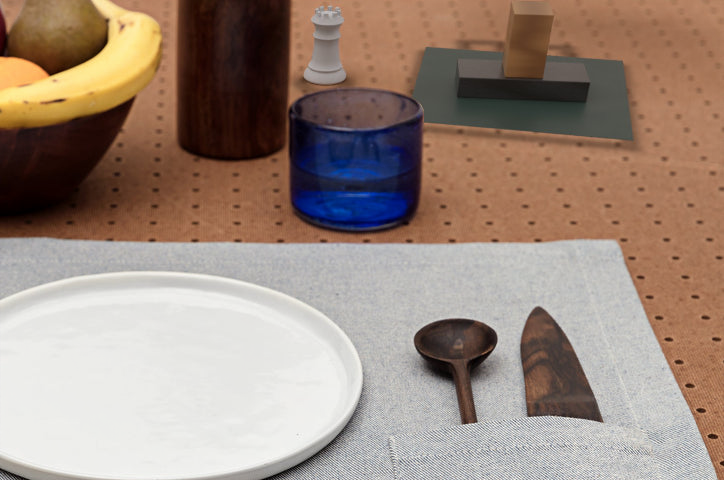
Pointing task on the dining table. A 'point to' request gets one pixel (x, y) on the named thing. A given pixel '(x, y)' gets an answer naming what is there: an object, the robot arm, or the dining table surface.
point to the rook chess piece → (326, 48)
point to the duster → (524, 63)
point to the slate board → (589, 119)
